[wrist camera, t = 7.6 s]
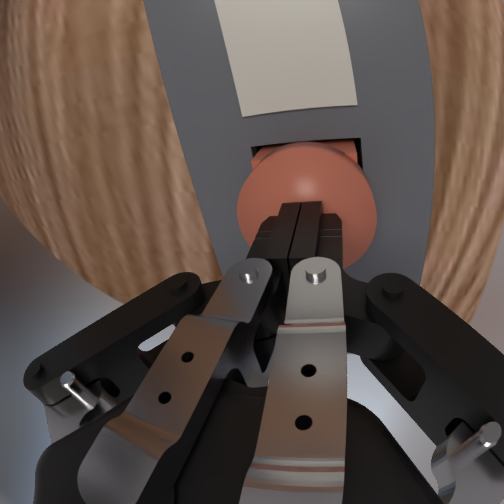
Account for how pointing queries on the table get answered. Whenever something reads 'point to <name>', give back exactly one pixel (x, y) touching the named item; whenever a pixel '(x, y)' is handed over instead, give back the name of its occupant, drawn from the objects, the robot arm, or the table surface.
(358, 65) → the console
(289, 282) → the robot arm
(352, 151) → the red plunger
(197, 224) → the table surface
